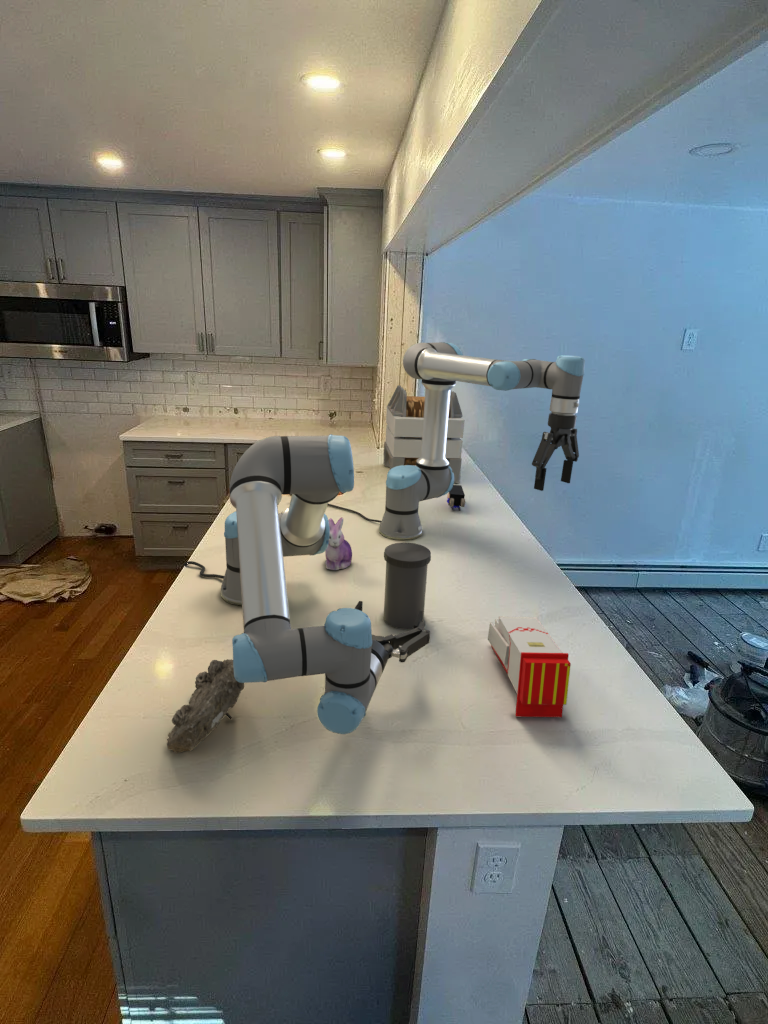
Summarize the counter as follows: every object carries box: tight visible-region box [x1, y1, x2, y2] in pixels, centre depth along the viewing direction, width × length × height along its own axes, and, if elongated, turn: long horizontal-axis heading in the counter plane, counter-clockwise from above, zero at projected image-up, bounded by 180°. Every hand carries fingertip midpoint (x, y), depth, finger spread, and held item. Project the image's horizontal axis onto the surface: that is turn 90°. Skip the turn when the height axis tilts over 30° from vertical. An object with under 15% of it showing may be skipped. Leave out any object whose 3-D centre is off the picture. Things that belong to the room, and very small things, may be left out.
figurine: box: [324, 517, 353, 571], centre depth 171 cm, size 9×10×15 cm
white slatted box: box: [383, 384, 465, 484], centre depth 268 cm, size 34×33×41 cm
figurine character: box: [446, 484, 466, 511], centre depth 229 cm, size 7×8×15 cm
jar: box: [383, 561, 429, 630], centre depth 142 cm, size 10×10×18 cm
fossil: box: [166, 658, 245, 754], centre depth 106 cm, size 22×10×15 cm
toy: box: [487, 616, 572, 718], centre depth 123 cm, size 12×13×30 cm
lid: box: [383, 542, 432, 568], centre depth 139 cm, size 12×12×2 cm
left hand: (390, 611), depth 124 cm, fingers open, 13 cm apart
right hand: (552, 485), depth 166 cm, fingers open, 13 cm apart
